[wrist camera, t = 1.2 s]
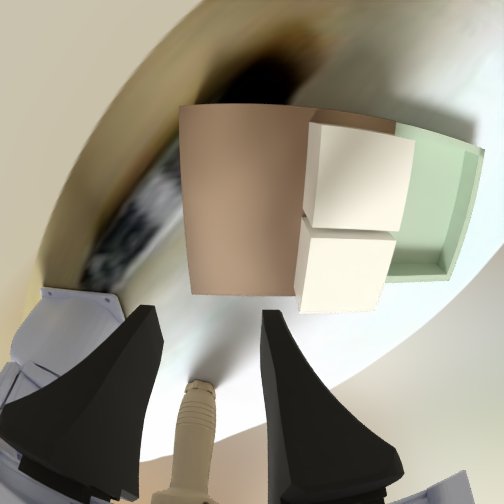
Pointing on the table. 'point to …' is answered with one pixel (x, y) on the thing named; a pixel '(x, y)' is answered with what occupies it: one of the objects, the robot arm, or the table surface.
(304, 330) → the table surface
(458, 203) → the tray
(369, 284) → the tile
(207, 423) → the handle
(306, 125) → the board
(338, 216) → the tile
